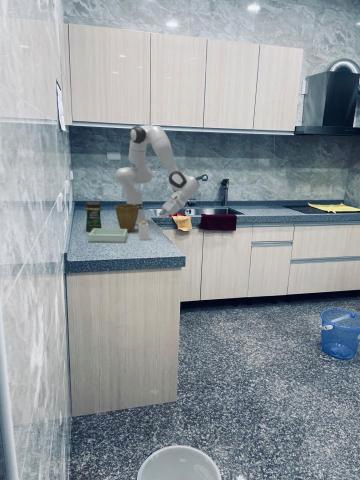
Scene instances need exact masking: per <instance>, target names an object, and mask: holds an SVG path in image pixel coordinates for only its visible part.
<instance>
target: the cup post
mask: <svg viewBox="0 0 360 480" xmlns="http://www.w3.org/2000/svg"><path fill="white" fill-rule="evenodd" d="M138 240H139V241H148V240H149V222H148V223H146V225H141V223H139V225H138Z"/></svg>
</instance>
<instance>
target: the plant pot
mask: <svg viewBox="0 0 360 480" xmlns="http://www.w3.org/2000/svg"><path fill="white" fill-rule="evenodd" d="M114 208H115V213H116V218H117V222H118V225H119V229H127V233H130V232H131V233H132V232H134V229H135V226H136V225H135V224H136V221H137V217H138V211H139V206H135V205H126V204H119V205H115V207H114Z"/></svg>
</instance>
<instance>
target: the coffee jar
mask: <svg viewBox="0 0 360 480" xmlns="http://www.w3.org/2000/svg"><path fill="white" fill-rule="evenodd" d="M85 210H86V222H85V223H86V224H85V230H86V231H87V232H91V231H92V230H93V229H94V228H99V229H102V220H101V211H102V203H101V202H100V201H86V204H85Z"/></svg>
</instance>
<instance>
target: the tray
mask: <svg viewBox="0 0 360 480" xmlns="http://www.w3.org/2000/svg"><path fill="white" fill-rule="evenodd" d="M89 232H90V233H88V234H87V238H88V241H87V242H88V243H113V244H115V243H117V244H123V243H124V244H125V243H126V240H127V237H128V232H127V229H121V228H101V229H99V228H94V229H93V230H92V231H89Z"/></svg>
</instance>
